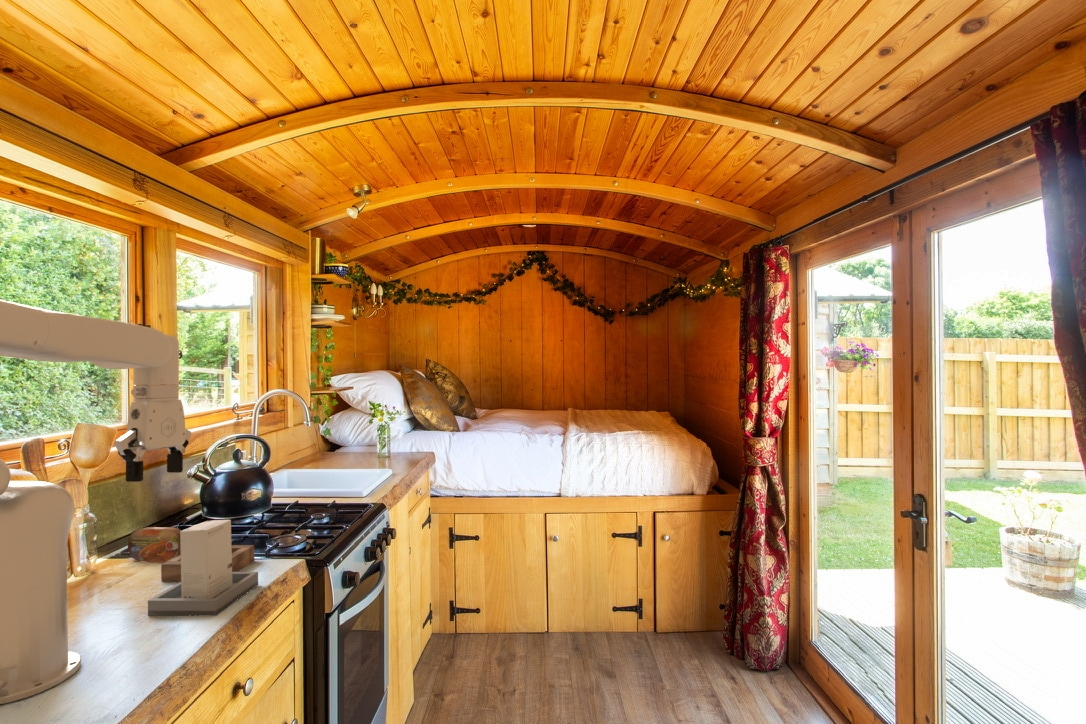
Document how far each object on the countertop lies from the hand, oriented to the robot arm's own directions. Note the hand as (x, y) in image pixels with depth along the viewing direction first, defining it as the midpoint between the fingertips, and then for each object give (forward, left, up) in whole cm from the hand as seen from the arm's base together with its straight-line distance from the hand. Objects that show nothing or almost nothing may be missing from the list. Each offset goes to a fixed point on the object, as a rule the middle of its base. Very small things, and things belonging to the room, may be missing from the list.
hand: (155, 476), depth 105 cm
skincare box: (+4, -8, -26) cm, 28 cm away
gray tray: (+4, -8, -27) cm, 28 cm away
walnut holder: (+19, +2, -27) cm, 33 cm away
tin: (+26, +21, -27) cm, 43 cm away
